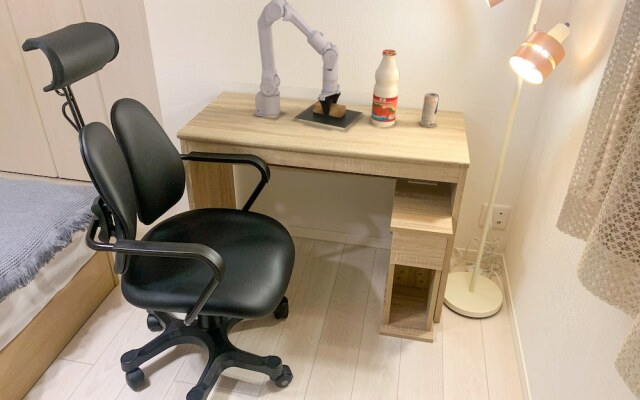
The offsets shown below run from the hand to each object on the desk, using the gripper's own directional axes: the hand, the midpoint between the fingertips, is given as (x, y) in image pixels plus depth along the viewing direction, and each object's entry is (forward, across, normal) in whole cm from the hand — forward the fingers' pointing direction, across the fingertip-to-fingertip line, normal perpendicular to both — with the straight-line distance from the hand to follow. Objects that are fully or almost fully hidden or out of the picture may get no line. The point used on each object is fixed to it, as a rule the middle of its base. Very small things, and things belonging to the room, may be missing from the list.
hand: (329, 112), depth 190 cm
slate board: (+2, 0, 0) cm, 2 cm away
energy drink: (+3, +12, -37) cm, 39 cm away
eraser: (+1, 0, 0) cm, 1 cm away
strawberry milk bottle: (+3, +5, -21) cm, 22 cm away
